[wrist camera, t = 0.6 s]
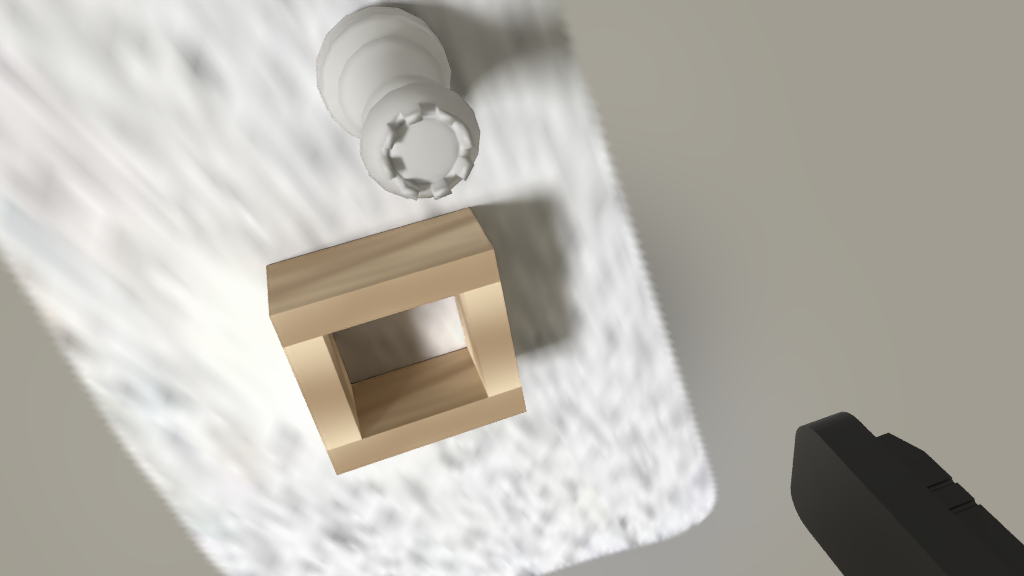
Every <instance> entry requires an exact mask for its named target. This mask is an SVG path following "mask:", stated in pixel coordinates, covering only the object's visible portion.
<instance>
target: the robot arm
mask: <svg viewBox="0 0 1024 576" xmlns="http://www.w3.org/2000/svg"><path fill="white" fill-rule="evenodd" d="M791 496H792V500H793V503H794V506H795V509H796V511H797V513H798V515H799V517H800V519H801V521H802V522H803V524H804V525H805V527H806V528H807V529H808V530H809V532H810V533H811V534H812V535H813V537H814V538H815V539H816V541H817V542H818V543H819V544H820V546H821V547H822V548H823V550H824V551H825V552H826V553H827V555H828V556H829V557H830V558H831V560H832V561H833V562H834V564H835V565H836V566H837V567H838V569H839V570H840V571H841V572H842V574H843V575H844V576H1024V545H1023V544H1022V543H1021V542H1020V541H1019V540H1018V539H1017V538H1016V537H1015V536H1014V535H1012V534H1011V533H1010V532H1009V531H1008V530H1007V529H1006V528H1005V527H1004V526H1003V525H1002V524H1001V523H1000V522H999V521H998V520H997V519H996V518H994V517H993V516H992V515H991V514H990V513H989V512H988V511H987V510H986V509H985V508H984V507H983V506H982V505H977V504H976V503H975V500H974V498H973V497H972V496H971V495H970V494H969V493H968V492H967V491H966V490H965V489H964V488H963V487H962V486H960V485H959V484H958V483H954V482H953V480H952V477H951V476H950V475H949V474H948V473H947V472H946V471H945V470H943V469H942V468H941V467H940V466H939V465H938V464H937V463H936V462H935V461H934V460H933V459H932V458H931V457H930V456H929V455H927V454H926V453H925V452H924V451H923V450H921V449H919V448H917V447H915V446H913V445H911V444H909V443H907V442H905V441H903V440H902V439H899V438H898V437H896V436H894V435H892V434H890V433H887V434H884V435H881V436H879V437H875V436H874V435H873V434H872V433H871V432H870V431H869V430H868V429H867V428H866V427H865V426H864V425H863V424H862V423H861V422H860V421H859V420H858V419H857V418H855V417H854V416H853V415H851V414H849V413H847V412H840V413H837V414H834V415H831V416H828V417H825V418H823V419H820V420H817V421H814V422H811V423H809V424H806V425H803V426H801V427H799V428H798V429H797V431H796V437H795V448H794V458H793V468H792V478H791Z"/></svg>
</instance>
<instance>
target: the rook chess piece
mask: <svg viewBox="0 0 1024 576" xmlns="http://www.w3.org/2000/svg"><path fill="white" fill-rule="evenodd" d="M316 70H317V87H318V90H319V92H320V94H321V96H322V99H323V101H324V103H325V105H326V108H327V110H328V111H329V112H330V114H331V116H332V118H333V119H334V120H335V121H336V122H337V123H339V124H340V125H341V126H342V127H343V128H344V129H345V130H346V131H347V132H348V133H349V134H350V135H352V136H355V137H357V138H360V155H361V157H362V160H363V162H364V164H365V167H366V169H367V171H368V173H369V176H371V177H372V178H373V179H374V180H375V181H376V182H377V183H378V184H379V185H380V186H381V187H382V188H383V189H385V190H386V191H388V192H391V193H393V194H396V195H399V196H402V197H404V198H411V199H414V200H417V199H418V198H431V197H434V199H435V200H437V199H439V198H442V197H444V196H447V195H449V194H452V192H451V189H452V188H453V187H454V186H455V185H456V184H458V183H459V182H460V181H461V180H462V179H464V180H465V181H466V180H467V178H468V176H469V174H470V172H471V170H472V168H473V166H474V164H473V163H474V161H475V159H476V157H477V155H478V151H479V140H480V129H479V126H478V123H477V120H476V117H475V114H474V111H473V109H472V108H471V107H470V106H469V105H468V104H467V103H466V102H465V100H464V99H463V98H462V97H461V96H460V95H459V94H458V93H456V92H454V91H452V90H450V83H451V69H450V66H449V63H448V60H447V57H446V54H445V51H444V47H443V46H442V45H441V43H440V40H439V38H438V37H437V36H436V35H435V34H434V32H433V31H432V30H431V29H430V28H429V27H428V26H427V24H426V23H425V22H424V21H423V20H422V19H420V18H418V17H416V16H414V15H412V14H410V13H408V12H406V11H404V10H402V9H400V8H397V7H379V6H370V7H368V8H365V9H362V10H359V11H357V12H354V13H351V14H349V15H346V16H345V17H344V18H343V19H342V20H341V21H340V22H339V23H338V24H337V25H336V26H335V27H334V28H333V29H332V30H331V31H329V32H328V33H327V34H326V37H325V39H324V42H323V44H322V47H321V49H320V51H319V54H318V56H317V59H316Z"/></svg>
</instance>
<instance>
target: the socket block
mask: <svg viewBox="0 0 1024 576" xmlns="http://www.w3.org/2000/svg"><path fill="white" fill-rule="evenodd" d="M266 269H267V286H268V303H269V317H270V319H271V321H272V324H273V326H274V328H275V331H276V333H277V335H278V338H279V340H280V342H281V345H282V347H283V349H284V352H285V354H286V356H287V359H288V361H289V364H290V366H291V368H292V371H293V373H294V375H295V378H296V380H297V382H298V385H299V387H300V389H301V392H302V394H303V396H304V399H305V401H306V403H307V406H308V408H309V411H310V413H311V415H312V418H313V420H314V422H315V425H316V427H317V429H318V432H319V434H320V436H321V439H322V441H323V443H324V446H325V448H326V450H327V453H328V455H329V458H330V460H331V462H332V465H333V467H334V469H335V472H336V474H337V475H339V474H342V473H345V472H348V471H351V470H354V469H357V468H360V467H363V466H366V465H369V464H372V463H375V462H378V461H381V460H384V459H387V458H390V457H393V456H396V455H399V454H402V453H405V452H407V451H410V450H413V449H416V448H419V447H422V446H425V445H428V444H431V443H434V442H437V441H440V440H443V439H446V438H449V437H452V436H455V435H458V434H461V433H464V432H467V431H470V430H473V429H476V428H479V427H482V426H485V425H488V424H491V423H494V422H497V421H500V420H503V419H506V418H509V417H512V416H514V415H517V414H520V413H523V412H526V406H525V401H524V396H523V391H522V386H521V381H520V376H519V372H518V367H517V362H516V357H515V352H514V347H513V342H512V337H511V332H510V327H509V322H508V317H507V312H506V307H505V302H504V297H503V292H502V287H501V282H500V277H499V272H498V267H497V262H496V257H495V252H494V248H493V247H492V245H491V243H490V242H489V240H488V238H487V236H486V235H485V233H484V231H483V230H482V228H481V226H480V224H479V223H478V221H477V219H476V218H475V216H474V214H473V212H472V211H471V209H470V207H469V208H466V209H462V210H459V211H455V212H452V213H448V214H445V215H441V216H438V217H434V218H431V219H428V220H424V221H421V222H417V223H414V224H410V225H407V226H403V227H400V228H396V229H393V230H389V231H386V232H382V233H379V234H375V235H372V236H368V237H365V238H361V239H358V240H354V241H351V242H348V243H344V244H341V245H337V246H334V247H330V248H327V249H323V250H320V251H316V252H313V253H309V254H306V255H302V256H299V257H295V258H292V259H288V260H285V261H281V262H278V263H274V264H271V265H268V266H266ZM451 296H455V300H456V304H457V308H458V312H459V316H460V320H461V324H462V328H463V332H464V336H465V340H466V344H467V348H464V349H461V350H458V351H454V352H451V353H448V354H445V355H442V356H439V357H436V358H432V359H429V360H426V361H423V362H420V363H417V364H414V365H410V366H407V367H404V368H401V369H398V370H395V371H392V372H388V373H385V374H382V375H379V376H376V377H373V378H370V379H366V380H363V381H360V382H357V383H354V384H351V382H350V380H349V377H348V374H347V372H346V369H345V366H344V364H343V361H342V358H341V356H340V353H339V350H338V348H337V345H336V342H335V339H334V337H333V334H332V333H333V332H336V331H340V330H343V329H346V328H350V327H353V326H356V325H359V324H363V323H366V322H369V321H372V320H376V319H379V318H382V317H385V316H389V315H392V314H395V313H399V312H402V311H405V310H408V309H412V308H415V307H418V306H421V305H425V304H428V303H431V302H435V301H438V300H441V299H444V298H448V297H451Z"/></svg>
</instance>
